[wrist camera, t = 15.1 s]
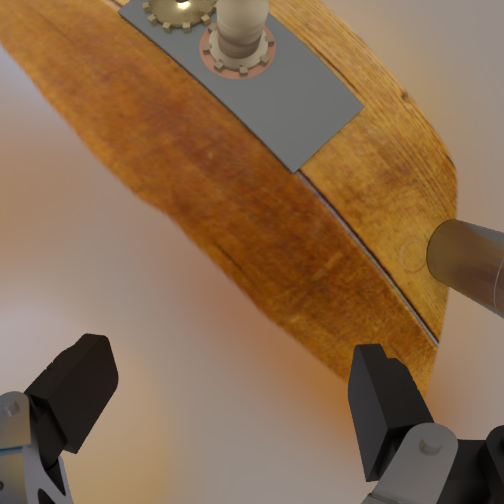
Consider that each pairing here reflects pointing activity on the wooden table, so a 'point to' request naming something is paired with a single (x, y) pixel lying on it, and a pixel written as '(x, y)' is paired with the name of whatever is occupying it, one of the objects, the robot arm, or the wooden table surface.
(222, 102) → the gear board
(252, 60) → the beech gear spindle
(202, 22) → the brass gear
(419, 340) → the wooden table surface
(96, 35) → the wooden table surface
